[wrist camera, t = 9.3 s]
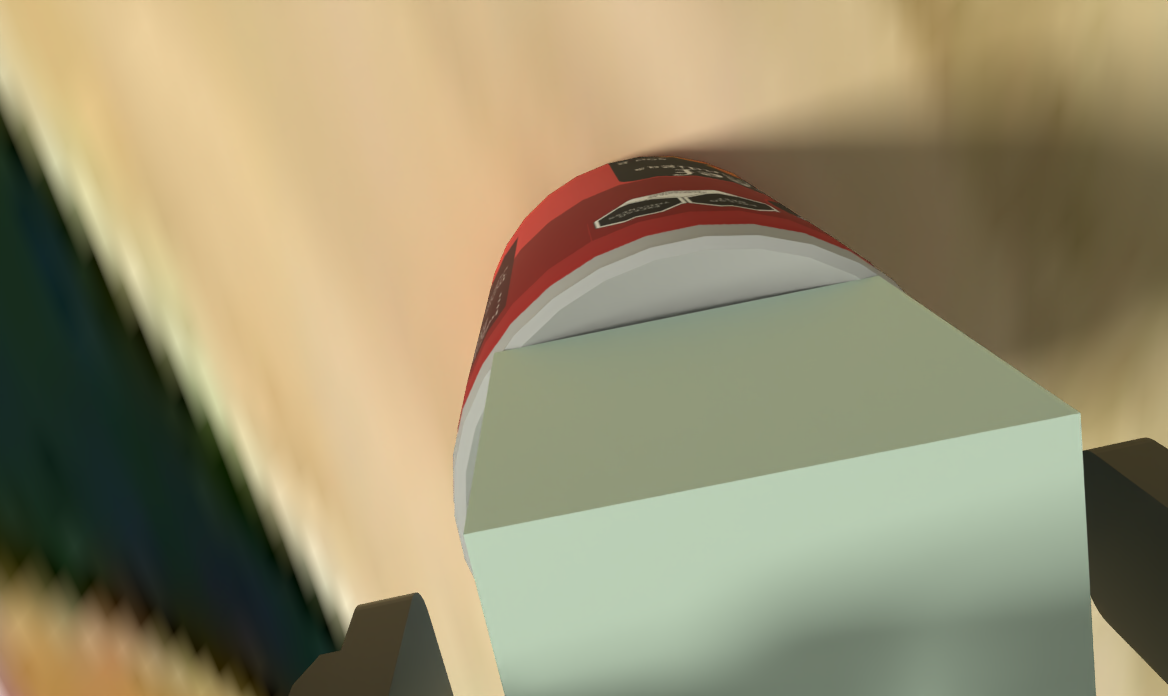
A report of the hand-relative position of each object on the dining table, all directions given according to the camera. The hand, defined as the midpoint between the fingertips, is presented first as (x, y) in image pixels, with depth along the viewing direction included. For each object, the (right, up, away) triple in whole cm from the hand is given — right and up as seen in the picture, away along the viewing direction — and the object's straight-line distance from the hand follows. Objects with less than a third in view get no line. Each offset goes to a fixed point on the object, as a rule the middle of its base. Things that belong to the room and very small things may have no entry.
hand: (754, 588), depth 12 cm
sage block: (0, +1, +3) cm, 3 cm away
